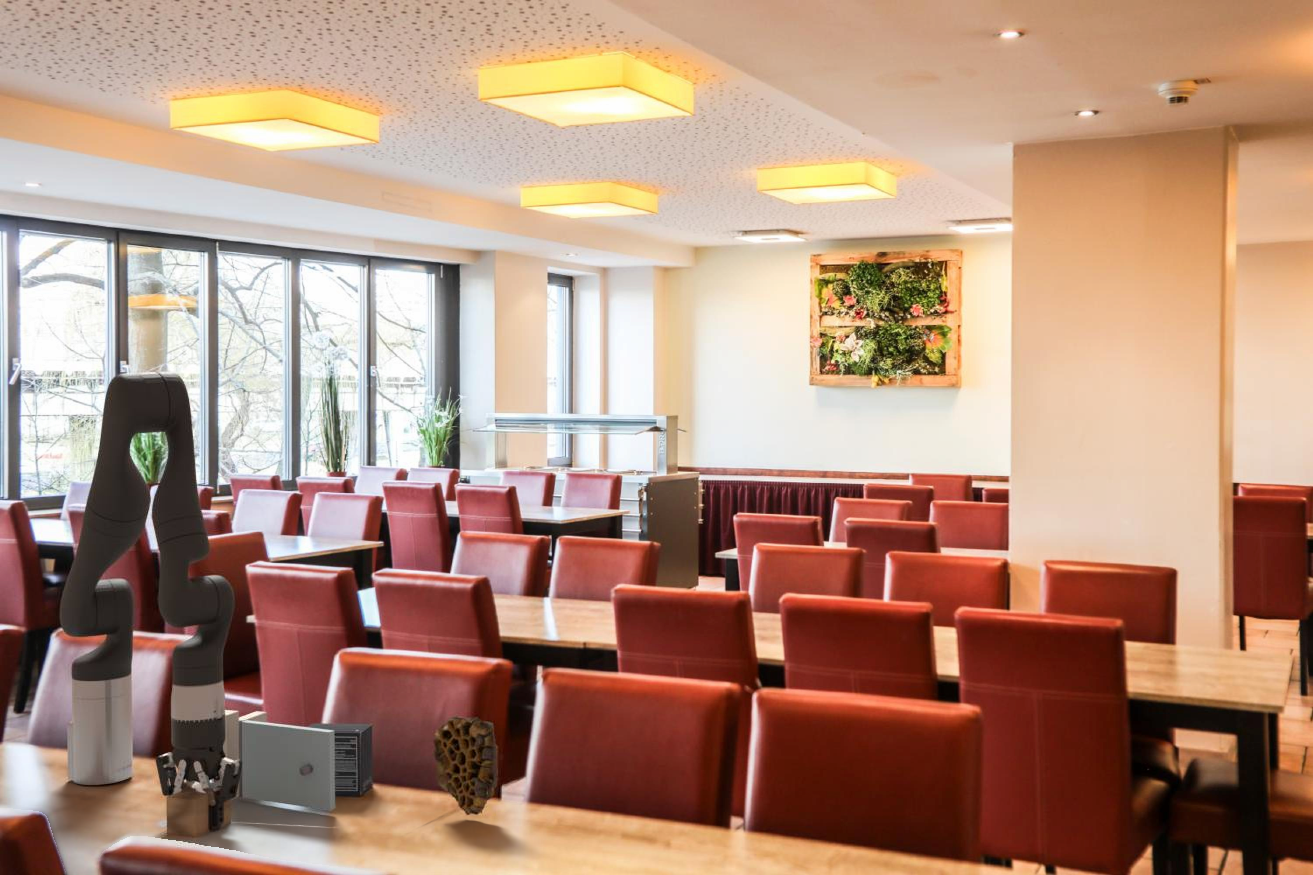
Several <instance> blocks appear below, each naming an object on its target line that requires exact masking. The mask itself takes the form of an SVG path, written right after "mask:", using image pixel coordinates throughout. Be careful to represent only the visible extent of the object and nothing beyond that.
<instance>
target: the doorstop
mask: <svg viewBox="0 0 1313 875" xmlns="http://www.w3.org/2000/svg"><path fill="white" fill-rule="evenodd" d="M214 790H215V789H214ZM215 794H216V791H215ZM165 798H166V819H167V827H166V834H168V835H176V836H183V837H191V838H198V837H200V836H202V835H205V834H207V833H210V832H213V830H209V824H208V806H209V805H210V804H209V801H208V795H206V792H205V791H203V790H202V787H201V783H196V784H193V785H192V787H191V788H187V789H185V790H183V791H182V792H177V793H175V794H173V795H170V796H165ZM231 801H232V800H231V799H230V800H228V801H226V802H224V822H223V824H222V825H221V827H224V826H225V825H229V824H230V823H231V822H232V820H231V819H232V815H231V814H232V813H231V810H232V808H231V806H232V805H231Z"/></svg>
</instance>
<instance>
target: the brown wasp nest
mask: <svg viewBox="0 0 1313 875" xmlns="http://www.w3.org/2000/svg"><path fill="white" fill-rule="evenodd" d="M495 736H496V735H495V728H494V723H493V722H489V721H484V720H482V719H481V718H478V717H475V716H472V717H463V716H454V717H451V718H450V719H447V721H446V723H443V724H441V725H440V728H439V729H436V730H435V733H434V738H433V746H434V747H433V749H434V750H433V757H434V760H435V762H436V780H437V785H439V786H440V787H441V788H442V789H443V790H444V791H445V792H448V793H449V794H450V795H451V797H452V798H454V799H455V802H457V804H458V807H459V808H460V809H461V810H462V811H464V813H465V814H466V816H471V815H479V814H483V811H484V808H486V807H485V806H486V804H487V802H488V801H489V800H491V798H492V797H493V796H494V795H495V792H494V790H495V789H496V788H497V785H498V780H499V778H498V774H499V768H498V767H499V766H498V765H499V763H498V762H499V761H498V755H499V751H498V750H499V746H498V745H497V744H496V738H495Z"/></svg>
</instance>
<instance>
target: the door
mask: <svg viewBox="0 0 1313 875" xmlns="http://www.w3.org/2000/svg"><path fill="white" fill-rule="evenodd" d="M239 759H240V760H241V761H242V769H241V774H240V779H239V798H242V799H243V798H244V799H250V800H251V799H252V800H255V801H256V800H257V801H264V802H269V803H277V804H285V805H289V806H290V805H292V806H298V807H303V808H304V807H305V808H311V809H316V810H317V809H319V810H324V811H333V810H335V808H336V796H335V740H334V730H326V729H317V728H309V727H307V726H299V725H290V724H283V723H282V724H281V723H274V722H268V721H267V722H258V721H250V720H246V721H245V720H239Z"/></svg>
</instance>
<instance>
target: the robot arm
mask: <svg viewBox="0 0 1313 875" xmlns="http://www.w3.org/2000/svg"><path fill="white" fill-rule="evenodd" d="M102 411H103V412H102V421H101V429H100V437H99V448H98V452H97V458H96V463H95V468H94V471H93V477H92V481H91V483H90V488H89V491H88V495H87V498H86V503H85V508H84V512H83V513H84V514H83V518H82V525H81V530H80V535H79V540H78V544H77V548H76V552H75V556H74V559H73V562H72V564H71V568H70V571H69V573H68V575H67V579H66V582H65V585H64V589H63V591H62V596H61V599H60V606H59V621H60V622H59V623H60V626H61V629H62V630H63V632H64V633H65V635H67V636H69V637H71V638H88V637H89V638H90V637H96V636H97V637H98V636H105V639H104V640H103V642H102V643H100V645H99V646H97V647H96V648H95V649H93V650H91V651H89V652H87V653H85V654H84V655H81V656H79V657H77V658H76V659H74V660H73V662H72V663H71V720H72V721H69V722H68V723H67V727H66V730H67V731H66V732H67V733H66V734H67V780H69V781H73V783H75V784H78V785H84V786H99V785H107V784H113V783H117V782H122V781H124V780H127V779H129V778H131V777H132V776H133V773H134V772H133V770H134V769H133V766H134V765H133V691H132V690H133V688H132V687H133V686H132V685H133V680H132V679H133V678H132V677H133V676H132V675H133V673H132V669H133V668H132V662H133V655H134V653H133V650H134V648H133V646H134V643H133V642H134V623H135V622H134V620H135V599H134V598H135V597H134V591H133V588H132V586H131V584H130V583H129V581H128V580H127V579H124V578H107V579H101V578H102V577H103V576H104V574H105V573H106V572H107V570H109V569H110V568H111V567H112V565H114V564H115V563H116V562H118V561H119V559H121V558H122V557H123V556H124V555H125V554H126V553H127V552H128V551H129V550H130V549H131V548H132V547H133V546H134V545H135V544H136V543H137V542H138V540H139V539H140V538H141V536H142V534H143V533H144V530H145V527H146V523H147V520H148V515H149V511H150V508H151V518H152V524H153V528H154V533H155V537H156V542H157V546H158V550H159V555H160V556H159V558H160V559H159V560H160V561H159V562H160V563H159V583H158V593H157V594H158V595H157V596H158V597H157V600H158V602H157V603H158V610H159V613H160V616H161V617H162V619H163V620H164V621H165V623H166V624H168V625H169V626H170V627H173V628H176V629H177V628H182V629H183V628H188V627H195V626H197V628H196V631H195V634H193V636H192V637H191V638H189V639H187V640H185V641H182V642H180V643H178V644H177V645H176V646H175V647H174V648H173V650H172V660H171V661H172V662H171V664H172V690H171V696H170V722H171V723H170V724H171V725H170V727H171V728H170V733H171V734H170V736H171V738H170V739H171V745H172V747H174V748H173V751H172V752H166V753H164V754H161V755H157V756H156V757H155V763H156V764H155V765H156V768H157V774H158V779H159V782H160V783H159V784H160V788H161V793H162V796H164V797H168V796H170V795H173V794H175V793H177V792H182V791H183V790H185V789H187V788H191V787H192V786H194V785H195V783H197V784H199V783H201V787H202V790H203V791H205V792H206V795H208V801H209V804H210V805H209V806H208V824H209V830H212V832H213V831H216V830H218V829H220V828H221V827H222V826H221V825H222V824H223V822H224V802H226V801H228V800H230V799H233V798H235V797H236V794H237V789H238V784H239V779H240V774H241V769H242V761H241V760H240V759H238V760H235V761H233V760H231V759H228V758H226V755H225V753H224V750H223V744H224V741H225V710H226V695H225V694H226V692H225V688H224V687H225V685H224V650H225V645H226V643H227V638H228V635H229V630H230V627H231V625H232V624H231V623H232V620H233V615H234V611H235V604H236V599H235V593H234V589H233V587H232V585H231V583H230V582H229V581H228V579H226V578H225V577H224V576H221V575H218V574H217V575H216V574H214V575H213V574H212V575H203V576H195V577H194V576H193V577H190V576H189V570H190V565H192V564H196V563H198V562H201V561H203V560H204V559H206V558H207V557H208V556H209V554H210V552H211V546H210V545H211V544H210V541H209V536H208V532H207V527H206V523H205V520H204V516H203V515H204V514H203V511H202V506H201V502H200V496H199V491H198V481H197V471H196V467H197V466H196V452H195V443H194V442H195V441H194V431H193V429H194V428H193V421H192V409H191V402H190V396H189V393H188V388H187V385H186V384H185V382H184V380H183V378H182V377H181V376H180V375H179V374H177V373H176V372H172V371H152V372H151V371H149V372H147V371H146V372H126V373H120V374H117V375H114V377H113V378H112V379H111V380H110V382H109V384H108V386H107V389H106V392H105V398H104V404H103V410H102ZM150 433H151V434H152V433H164V434H165V437H166V438H165V439H166V442H167V458H166V463H165V466H164V470H163V473H162V475H161V478H160V480H159V482H158V485H157V488H156V490H155V492H154V496H153V500H151V499H152V496H151V491H150V488H149V486H148V483H147V481H146V480H145V478H144V476H143V475H142V473H141V471H140V470H139V469H138V467H137V465H136V464H135V462H134V460H133V458H132V454H131V444H132V440H133V438H134V437H135V435H138V434H150ZM151 502H152V504H151ZM221 767H222V768H223V771H222V774H224V775H223V777H222V774H221V770H220V769H221ZM212 779H214V781H213V782H212ZM210 781H211V782H210ZM214 789H215V790H214ZM215 791H216V794H215Z"/></svg>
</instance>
